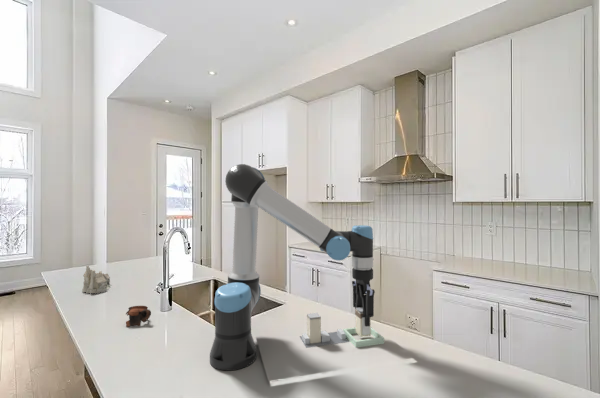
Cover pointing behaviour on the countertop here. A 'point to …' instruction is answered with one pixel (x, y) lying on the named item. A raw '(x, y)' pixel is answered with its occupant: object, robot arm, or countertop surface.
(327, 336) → the block
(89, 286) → the ceramic cottage
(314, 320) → the block
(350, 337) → the tray
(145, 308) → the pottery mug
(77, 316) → the countertop surface
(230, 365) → the robot arm
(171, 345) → the countertop surface
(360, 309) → the block
